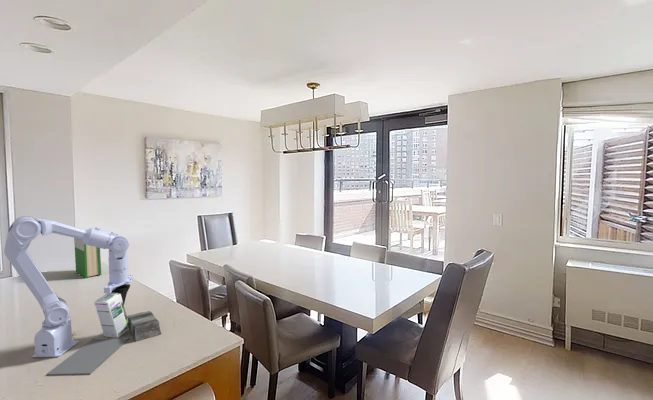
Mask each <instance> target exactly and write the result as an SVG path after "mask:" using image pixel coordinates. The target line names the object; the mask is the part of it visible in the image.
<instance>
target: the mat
mask: <svg viewBox="0 0 653 400" xmlns="http://www.w3.org/2000/svg"><path fill="white" fill-rule="evenodd" d="M129 340H130V337H119V338H111V337H106V338H105V337H104V338H91V340H89V341H88V342H87V343H86V344H84V345H83V346H82V347H80V348H79V349H77V350H76V351H75V352H73V353H72V354H71V355H69V356H68V357H66V359H64V360H62V361H61V362H60V363H58V364H57V365H56V366H55V367H53V368H52V369H51V370H49V372H47V373H46V374H45V375H46V376H77V375H78V376H80V375H81V376H83V375H85V374H86V375H85V376H87V374H88V375H91V374H92V373H93V372H95V371H96V370H97V369H98V368H99V367H100V366H101V365H102V364H103V363H105V362H106V360H108V359H109V358H111V356H113V355H114V353H115V352H116V351H118V350H119V349H120V348H121V347H122V346H123V345H124V344H125V343H127V342H128V341H129Z"/></svg>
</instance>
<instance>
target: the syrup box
mask: <svg viewBox="0 0 653 400" xmlns="http://www.w3.org/2000/svg"><path fill="white" fill-rule="evenodd" d="M93 304H94V306H95V311H96V313H97V316H98V320H99V322H100V326H101V329H102V333H103V336H104V338H105V337H106V338H121V337H122V335H124V334H125V332H127V331H128V330H129V328H130V326H129V322H128V318H127V316H128V315H127V312H126V308H125V303H124V304H123V300H122V297H121V294H120V293H104V294H103V295H102V296H101V297H99V298H97V299H96V300H95V301H93Z"/></svg>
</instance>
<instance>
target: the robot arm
mask: <svg viewBox="0 0 653 400" xmlns="http://www.w3.org/2000/svg"><path fill="white" fill-rule="evenodd" d="M40 234H41V235H42V236H47V235H50V234H57V235H61V236H65V237H70V238H73V239H74V238H78V239H82V241H83V243H84V244H86V245H90V246H94V247H98V248H100V249H103V250H107V249H108V275H109V276H108V277H109V278H108V279H109V280H108V283H107V284H106V286H104V287H103V293H104V294H106V293H120V294H121V297H122V300H123V304H124V305H125V303H126V302H125V301H126V298H127V294H128V292H129V289H130V288H131V283H132V281H133V278H134V277H133V274H129V265H128V264H129V263H128V261H129V260H128V249H129V247H130V243H129V241H128V239H126V237H124V236H123V235H121V234H118V233H116V232H113V231H112V232H108V231H104V230H101V228H100V227H90V228H88V229H82V228H78V227H75V226H73V225H69V224H65V223H63V222H59V221H55V220H53V219H46V218H40V217H36V218H35V217H34V216H30V215H22V216H19V217H17V218H16V219H14V221H13V222H12V223H11V225H10V226H9V227H8V229H7V234H6V235H7V236H6V240H5V245H4V250H3V251H4V252H3V253H4V255H5V258H7V260H8V261H9V262H10V264H11V266H12V267H13V268H14V269H15V271H16V272H17V274H18V275H19V276H20V278H21V280H22V281H23V283H24V284H25V286H26V287H27V288H28V289H29V291H30V292H31V293H32V295H33V297H34V298H35V300H36V301H37V302H38V305H40V308H41V309H42V313H43V315H44V320H43V321H42V323H41V324H42V326H41V328H40V329H39V331H37V332H36V333H35V335H34V338H33V340H34V354H33V355H32V358H51V357H52V358H57V357H60V356H62V355H64V353H66V352H67V351H69V350H71V349H72V348H73V347H74V346H75V345H77V344H78V343H79V342H80V340H73V334H72V333H73V332H72V331H73V330H72V319H71V318H72V317H71V309H70V308H69V307H68V304H67V301H66V300H65V299H63V298H61V297H60V296H58V294H57V293H56V292H55V291H54V289H53V288H52V286H51V285H50V283H49V281H47V279H46V278H45V276H44V275H43V273H42V272H41V270H40V269H39V267H38V266H37V265H36V263H35V261H34V260H33V259H32V257H31V255H30V253H29V252H28V251H27V250H28V248H29V246H30V245H31V243H32V241H33V240H35V239H36V238H37V237H38V236H39V235H40Z"/></svg>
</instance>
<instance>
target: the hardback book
mask: <svg viewBox="0 0 653 400" xmlns="http://www.w3.org/2000/svg"><path fill="white" fill-rule="evenodd" d="M73 241H74V258H75V259H74V263H75V273H76V272H77V273H76V274H78V275H79V274H80V275H79V276H81V277H82V276H83V277H82V278H84V279H85V278H86V279H89V277H93V276H99V277H100V275H101V276H102V264H101V263H102V261H101V257H102V256H101V248H98V247H94V246H90V245H86V244H84V243H83V241H82V239H78V238H74V237H73Z"/></svg>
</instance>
